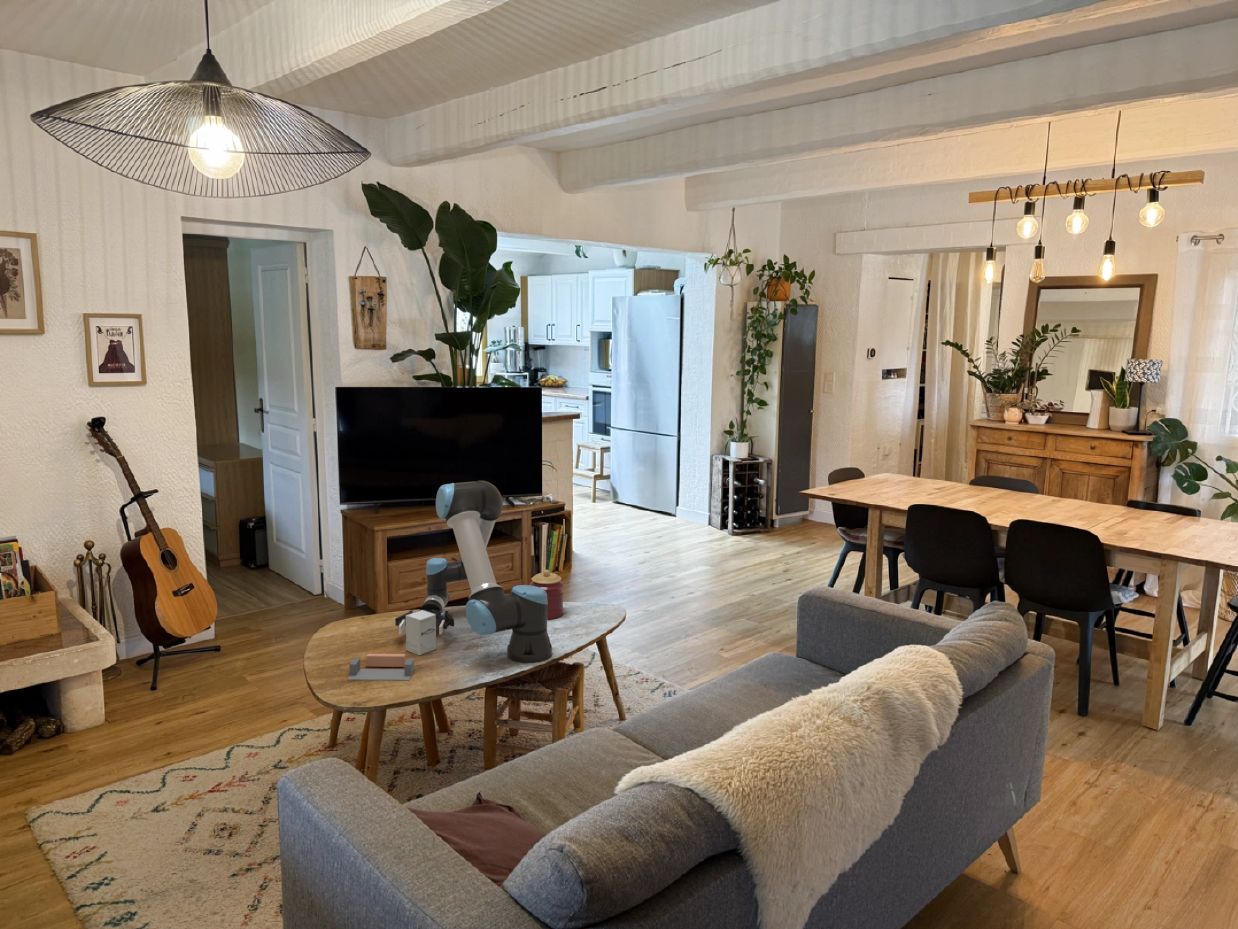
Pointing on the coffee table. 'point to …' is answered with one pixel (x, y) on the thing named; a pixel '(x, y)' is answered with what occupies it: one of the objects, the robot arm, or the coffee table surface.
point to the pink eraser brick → (385, 660)
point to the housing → (381, 672)
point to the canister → (550, 592)
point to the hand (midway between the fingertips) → (420, 630)
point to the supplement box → (420, 632)
